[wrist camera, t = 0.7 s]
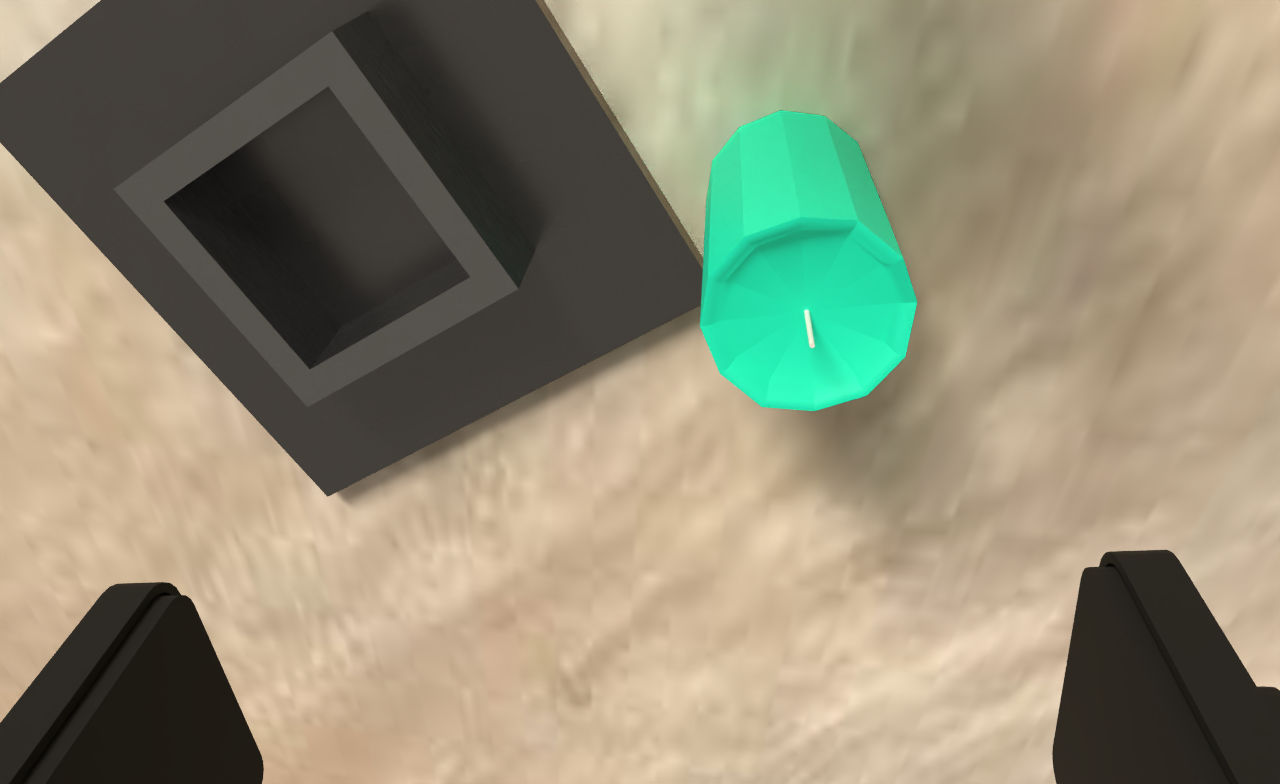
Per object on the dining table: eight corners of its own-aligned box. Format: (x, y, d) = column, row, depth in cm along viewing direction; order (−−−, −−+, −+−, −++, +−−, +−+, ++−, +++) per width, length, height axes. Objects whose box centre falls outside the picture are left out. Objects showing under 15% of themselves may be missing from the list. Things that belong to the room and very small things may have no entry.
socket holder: (398, -235, 30) (349, -241, 26) (719, 284, 38) (718, 338, 34) (-13, 101, 36) (-101, 136, 32) (335, 483, 44) (298, 547, 40)
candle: (824, 289, 38) (860, 469, 27) (680, 232, 37) (663, 395, 27) (900, 147, 35) (974, 291, 24) (746, 82, 34) (755, 202, 24)
